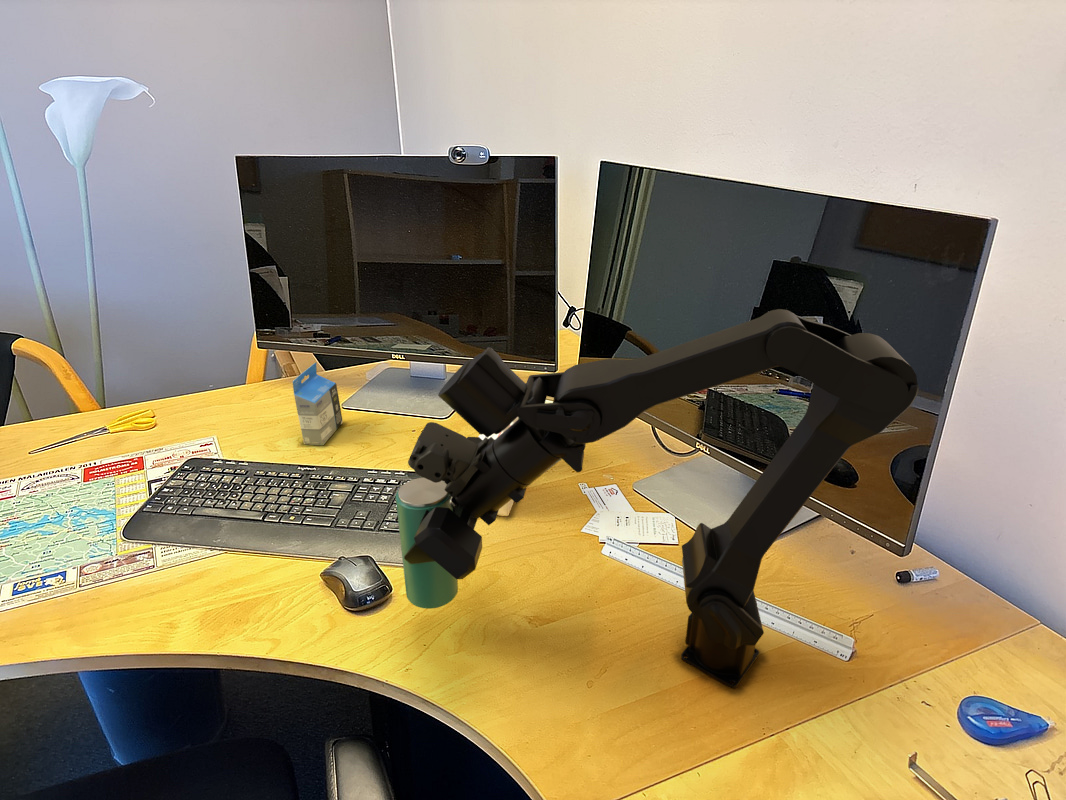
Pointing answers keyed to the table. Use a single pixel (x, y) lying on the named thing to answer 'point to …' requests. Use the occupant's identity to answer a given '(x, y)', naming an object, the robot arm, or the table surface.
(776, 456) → the robot arm
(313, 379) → the label tape box
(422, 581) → the can
